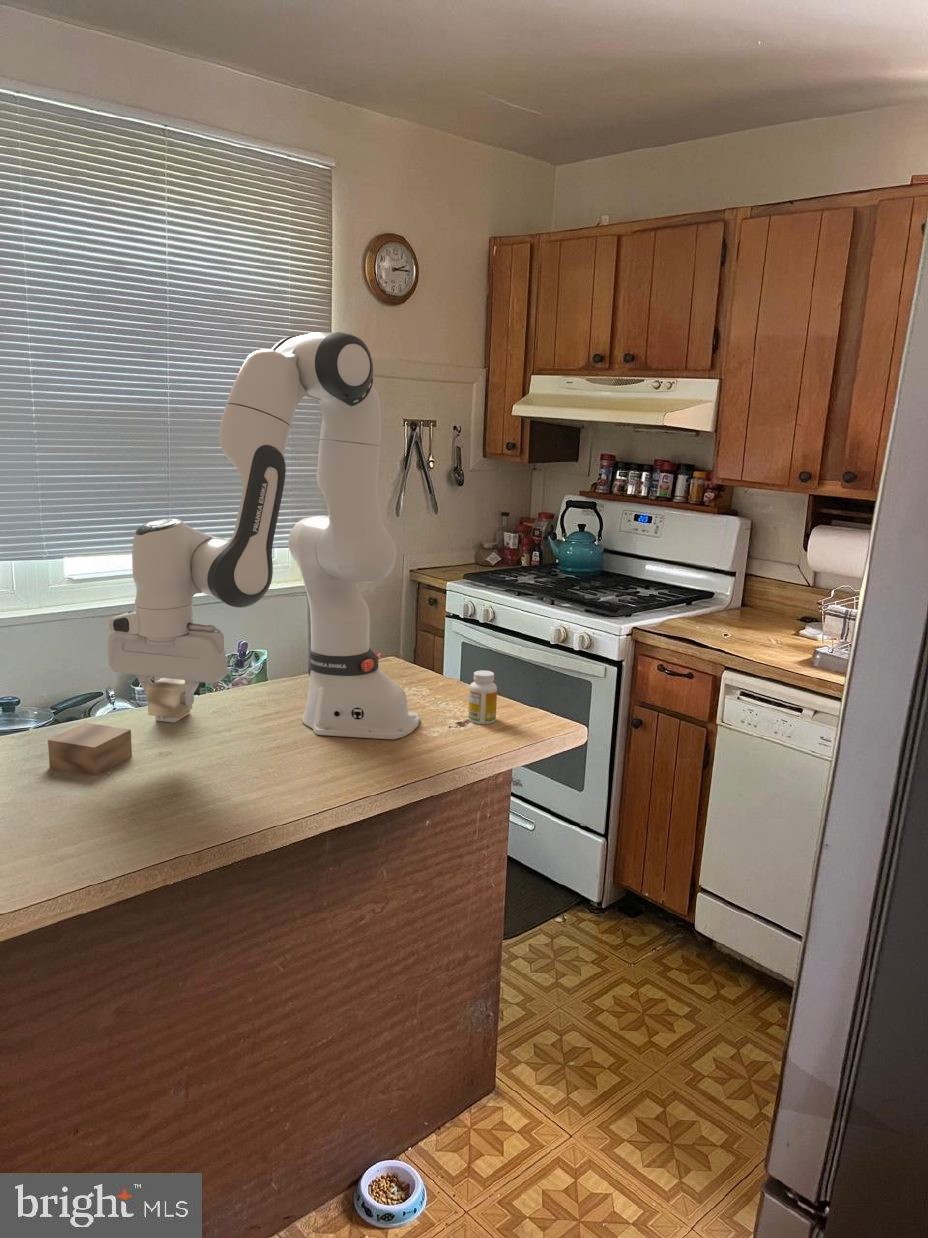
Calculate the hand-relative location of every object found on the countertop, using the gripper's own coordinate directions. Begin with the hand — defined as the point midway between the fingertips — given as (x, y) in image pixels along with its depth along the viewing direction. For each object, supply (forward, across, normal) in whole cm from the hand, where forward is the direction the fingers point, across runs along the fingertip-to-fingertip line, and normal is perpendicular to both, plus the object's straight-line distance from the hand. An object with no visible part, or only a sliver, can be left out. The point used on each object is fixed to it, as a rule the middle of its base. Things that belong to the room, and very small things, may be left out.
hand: (170, 702), depth 148 cm
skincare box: (+11, +12, -19) cm, 25 cm away
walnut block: (+10, +12, +5) cm, 17 cm away
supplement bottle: (+12, -44, -39) cm, 60 cm away
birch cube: (+2, 0, 0) cm, 2 cm away
